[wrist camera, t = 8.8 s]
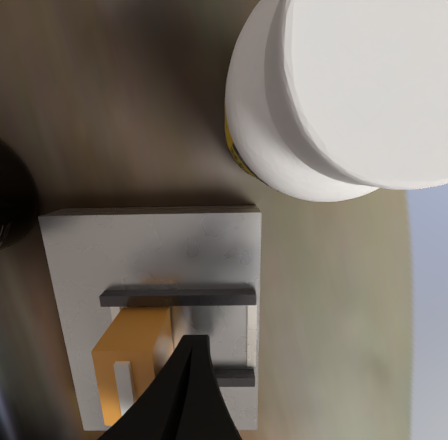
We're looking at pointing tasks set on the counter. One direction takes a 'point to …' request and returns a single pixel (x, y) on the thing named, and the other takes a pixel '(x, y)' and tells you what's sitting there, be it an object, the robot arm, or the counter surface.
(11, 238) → the supplement bottle
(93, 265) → the strip
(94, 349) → the orange cuboid
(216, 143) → the counter surface
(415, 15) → the supplement bottle
